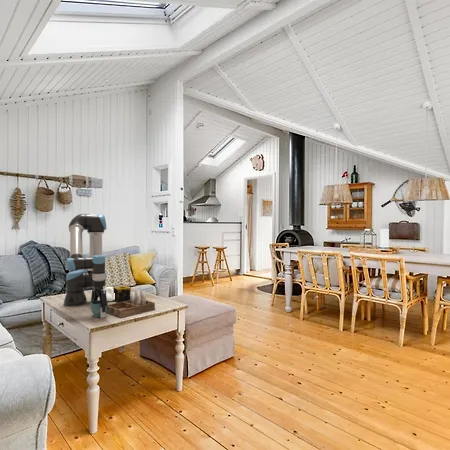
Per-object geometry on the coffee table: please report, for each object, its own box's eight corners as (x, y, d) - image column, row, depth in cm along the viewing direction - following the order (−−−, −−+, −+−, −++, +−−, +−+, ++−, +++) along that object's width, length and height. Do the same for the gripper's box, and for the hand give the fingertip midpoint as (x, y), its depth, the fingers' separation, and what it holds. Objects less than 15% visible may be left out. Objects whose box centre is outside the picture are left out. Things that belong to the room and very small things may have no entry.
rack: (105, 312, 213) (105, 293, 213) (139, 304, 233) (139, 287, 233) (120, 317, 201) (120, 298, 201) (154, 309, 221) (154, 291, 221)
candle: (112, 300, 245) (112, 287, 245) (126, 298, 252) (126, 285, 251) (117, 303, 237) (117, 289, 237) (130, 301, 243) (130, 287, 243)
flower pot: (93, 319, 198) (93, 304, 198) (89, 315, 206) (89, 301, 205) (108, 316, 204) (108, 302, 204) (104, 313, 211) (104, 299, 211)
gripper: (84, 278, 209) (84, 313, 209) (101, 283, 194) (101, 320, 195) (96, 277, 214) (96, 311, 215) (113, 281, 200) (113, 317, 200)
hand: (98, 315), depth 205 cm, fingers open, 9 cm apart
